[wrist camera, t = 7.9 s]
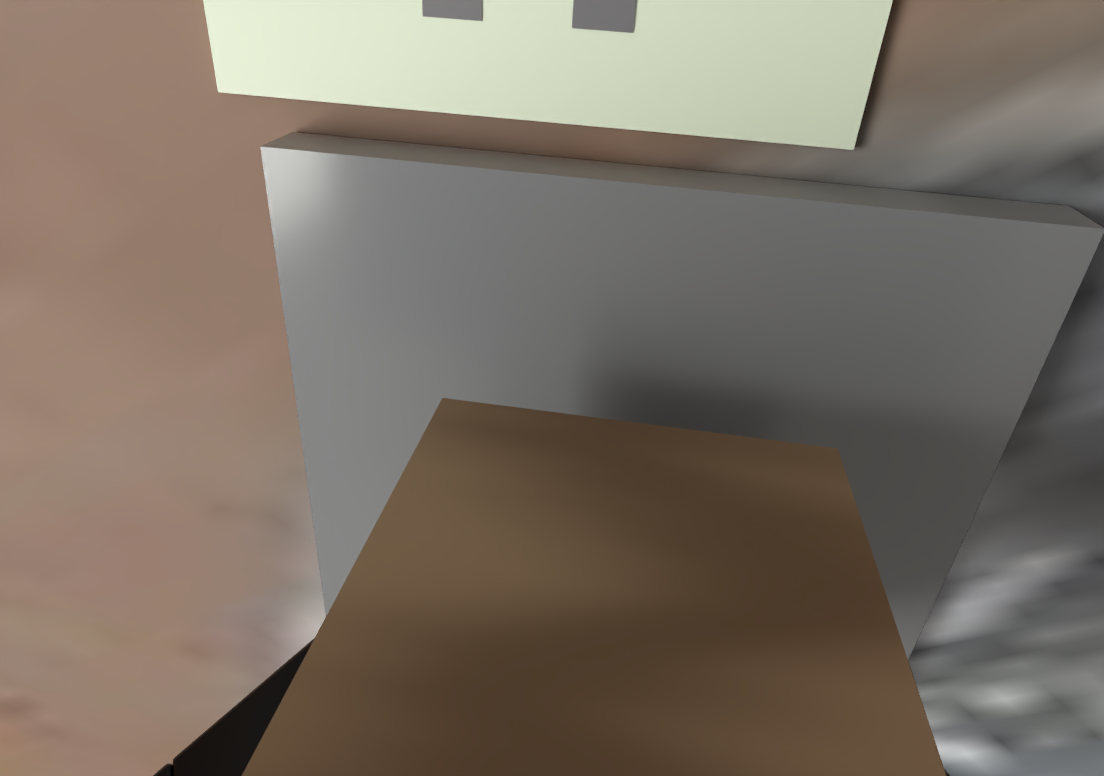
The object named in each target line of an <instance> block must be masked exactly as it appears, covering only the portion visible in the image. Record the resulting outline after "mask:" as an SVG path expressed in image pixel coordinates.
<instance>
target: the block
mask: <svg viewBox="0 0 1104 776" xmlns="http://www.w3.org/2000/svg"><path fill="white" fill-rule="evenodd" d="M242 776H946V774H945V771H944V768H943V764H942V761H941V758H940V755H939V752H938V749H937V746H936V743H935V740H934V737H933V734H932V731H931V728H930V725H929V722H928V719H927V716H926V713H925V710H924V707H923V704H922V701H921V698H920V695H919V692H918V689H917V686H916V683H915V680H914V677H913V674H912V671H911V668H910V665H909V662H908V659H907V656H906V653H905V650H904V647H903V644H902V641H901V638H900V635H899V632H898V629H897V626H896V623H895V620H894V617H893V614H892V611H891V608H890V605H889V602H888V599H887V596H886V593H885V589H884V586H883V583H882V580H881V577H880V574H879V571H878V568H877V565H876V562H875V559H874V556H873V553H872V550H871V547H870V544H869V541H868V538H867V535H866V532H865V529H864V526H863V523H862V520H861V517H860V514H859V511H858V508H857V505H856V502H855V499H854V496H853V493H852V490H851V487H850V484H849V481H848V478H847V475H846V472H845V469H844V466H843V463H842V460H841V457H840V454H839V451H838V448H830V447H822V446H815V445H807V444H799V443H791V442H783V441H776V440H768V439H760V438H752V437H744V436H737V435H729V434H721V433H713V432H705V431H698V430H690V429H682V428H674V427H666V426H659V425H651V424H643V423H635V422H628V421H620V420H612V419H604V418H596V417H589V416H581V415H573V414H565V413H557V412H550V411H542V410H534V409H526V408H518V407H511V406H503V405H495V404H487V403H479V402H472V401H464V400H456V399H448V398H442V400H441V401H440V403H439V405H438V407H437V409H436V411H435V413H434V415H433V417H432V418H431V420H430V422H429V424H428V426H427V428H426V430H425V432H424V433H423V435H422V437H421V439H420V441H419V443H418V445H417V447H416V449H415V450H414V452H413V454H412V456H411V458H410V460H409V462H408V464H407V465H406V467H405V469H404V471H403V473H402V475H401V477H400V479H399V481H398V482H397V484H396V486H395V488H394V490H393V492H392V494H391V496H390V497H389V499H388V501H387V503H386V505H385V507H384V509H383V511H382V513H381V514H380V516H379V518H378V520H377V522H376V524H375V526H374V528H373V530H372V531H371V533H370V535H369V537H368V539H367V541H366V543H365V545H364V546H363V548H362V550H361V552H360V554H359V556H358V558H357V560H356V562H355V563H354V565H353V567H352V569H351V571H350V573H349V575H348V577H347V578H346V580H345V582H344V584H343V586H342V588H341V590H340V592H339V594H338V595H337V597H336V599H335V601H334V603H333V605H332V607H331V609H330V610H329V612H328V614H327V616H326V618H325V620H324V622H323V624H322V626H321V627H320V629H319V631H318V633H317V635H316V637H315V639H314V641H313V642H312V644H311V646H310V648H309V650H308V652H307V654H306V656H305V658H304V659H303V661H302V663H301V665H300V667H299V669H298V671H297V673H296V674H295V676H294V678H293V680H292V682H291V684H290V686H289V688H288V690H287V691H286V693H285V695H284V697H283V699H282V701H281V703H280V705H279V707H278V708H277V710H276V712H275V714H274V716H273V718H272V720H271V722H270V723H269V725H268V727H267V729H266V731H265V733H264V735H263V737H262V739H261V740H260V742H259V744H258V746H257V748H256V750H255V752H254V754H253V755H252V757H251V759H250V761H249V763H248V765H247V767H246V769H245V771H244V772H243V774H242Z"/></svg>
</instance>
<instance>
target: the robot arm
mask: <svg viewBox="0 0 1104 776" xmlns="http://www.w3.org/2000/svg"><path fill="white" fill-rule="evenodd" d="M314 639H315V638H314ZM314 639H313V640H312V641H311V642H310V643H308V644H307V645H306V646H305V647H304V648H302V649H301V650H300V651H299V652H298V653H297V654H295V655H294V656H293V657H292V658H291V659H290V660H288V661H287V662H286V663H285V664H284V665H283V666H281V667H280V668H279V669H278V670H277V671H276V672H274V673H273V674H272V675H271V676H270V677H268V678H267V679H266V680H265V681H264V682H263V683H261V684H260V685H259V686H258V687H257V688H256V689H254V690H253V691H252V692H251V693H250V694H249V695H247V696H246V697H245V698H244V699H243V700H242V701H240V702H239V703H238V704H237V705H236V706H234V707H233V708H232V709H231V710H230V711H229V712H227V713H226V714H225V715H224V716H223V717H222V718H220V719H219V720H218V721H217V722H216V723H215V724H213V725H212V726H211V727H210V728H209V729H208V730H206V731H205V732H204V733H203V734H202V735H201V736H199V737H198V738H197V739H196V740H195V741H193V742H192V743H191V744H190V745H189V746H188V747H186V748H185V749H184V750H183V751H182V752H181V753H179V754H178V755H177V756H176V757H175V758H174V759H173V765H172V764H166V765H165V766H164V767H163V768H161V769H160V770H159V771H158V772H157V773H156V774H154V775H153V776H242V774H243V772H244V771H245V769H246V767H247V765H248V763H249V761H250V759H251V757H252V755H253V754H254V752H255V750H256V748H257V746H258V744H259V742H260V740H261V739H262V737H263V735H264V733H265V731H266V729H267V727H268V725H269V723H270V722H271V720H272V718H273V716H274V714H275V712H276V710H277V708H278V707H279V705H280V703H281V701H282V699H283V697H284V695H285V693H286V691H287V690H288V688H289V686H290V684H291V682H292V680H293V678H294V676H295V674H296V673H297V671H298V669H299V667H300V665H301V663H302V661H303V659H304V658H305V656H306V654H307V652H308V650H309V648H310V646H311V644H312V642H313V641H314ZM944 771H945V774H946V776H950V775H949V774H948V773H947V771H946V770H945V769H944Z"/></svg>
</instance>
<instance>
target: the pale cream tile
mask: <svg viewBox="0 0 1104 776" xmlns="http://www.w3.org/2000/svg"><path fill="white" fill-rule="evenodd" d="M203 2H204V8H205V14H206V20H207V26H208V32H209V39H210V45H211V51H212V57H213V63H214V69H215V76H216V82H217V88H218V92H222V93H233V94H244V95H255V96H266V97H277V98H288V99H299V100H310V101H321V102H332V103H343V104H354V105H365V106H376V107H387V108H398V109H409V110H420V111H431V112H442V113H453V114H464V115H475V116H486V117H497V118H508V119H519V120H530V121H541V122H552V123H563V124H574V125H585V126H596V127H607V128H618V129H629V130H640V131H651V132H662V133H673V134H684V135H695V136H706V137H717V138H728V139H739V140H750V141H761V142H772V143H783V144H794V145H805V146H816V147H827V148H838V149H849V150H854V147H855V143H856V139H857V135H858V131H859V128H860V124H861V120H862V116H863V112H864V109H865V105H866V101H867V97H868V93H869V89H870V86H871V82H872V78H873V74H874V70H875V67H876V63H877V59H878V55H879V51H880V48H881V44H882V40H883V36H884V32H885V29H886V25H887V21H888V17H889V13H890V10H891V6H892V2H893V0H203Z"/></svg>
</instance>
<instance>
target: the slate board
mask: <svg viewBox="0 0 1104 776" xmlns="http://www.w3.org/2000/svg"><path fill="white" fill-rule="evenodd" d="M261 154H262V161H263V168H264V176H265V183H266V190H267V197H268V204H269V211H270V219H271V226H272V233H273V240H274V247H275V254H276V262H277V269H278V276H279V283H280V290H281V297H282V304H283V312H284V319H285V326H286V333H287V340H288V347H289V355H290V362H291V369H292V376H293V383H294V390H295V398H296V405H297V412H298V419H299V426H300V433H301V441H302V448H303V455H304V462H305V469H306V476H307V484H308V491H309V498H310V505H311V512H312V519H313V527H314V534H315V541H316V548H317V555H318V562H319V569H320V577H321V584H322V591H323V598H324V605H325V612H326V616H327V614H328V612H329V610H330V609H331V607H332V605H333V603H334V601H335V599H336V597H337V595H338V594H339V592H340V590H341V588H342V586H343V584H344V582H345V580H346V578H347V577H348V575H349V573H350V571H351V569H352V567H353V565H354V563H355V562H356V560H357V558H358V556H359V554H360V552H361V550H362V548H363V546H364V545H365V543H366V541H367V539H368V537H369V535H370V533H371V531H372V530H373V528H374V526H375V524H376V522H377V520H378V518H379V516H380V514H381V513H382V511H383V509H384V507H385V505H386V503H387V501H388V499H389V497H390V496H391V494H392V492H393V490H394V488H395V486H396V484H397V482H398V481H399V479H400V477H401V475H402V473H403V471H404V469H405V467H406V465H407V464H408V462H409V460H410V458H411V456H412V454H413V452H414V450H415V449H416V447H417V445H418V443H419V441H420V439H421V437H422V435H423V433H424V432H425V430H426V428H427V426H428V424H429V422H430V420H431V418H432V417H433V415H434V413H435V411H436V409H437V407H438V405H439V403H440V401H441V400H442V398H448V399H456V400H464V401H472V402H479V403H487V404H495V405H503V406H511V407H518V408H526V409H534V410H542V411H550V412H557V413H565V414H573V415H581V416H589V417H596V418H604V419H612V420H620V421H628V422H635V423H643V424H651V425H659V426H666V427H674V428H682V429H690V430H698V431H705V432H713V433H721V434H729V435H737V436H744V437H752V438H760V439H768V440H776V441H783V442H791V443H799V444H807V445H815V446H822V447H830V448H838V451H839V454H840V457H841V460H842V463H843V466H844V469H845V472H846V475H847V478H848V481H849V484H850V487H851V490H852V493H853V496H854V499H855V502H856V505H857V508H858V511H859V514H860V517H861V520H862V523H863V526H864V529H865V532H866V535H867V538H868V541H869V544H870V547H871V550H872V553H873V556H874V559H875V562H876V565H877V568H878V571H879V574H880V577H881V580H882V583H883V586H884V589H885V593H886V596H887V599H888V602H889V605H890V608H891V611H892V614H893V617H894V620H895V623H896V626H897V629H898V632H899V635H900V638H901V641H902V644H903V647H904V650H905V653H906V656H907V659H909V657H910V655H911V653H912V651H913V648H914V646H915V644H916V642H917V640H918V638H919V635H920V633H921V631H922V629H923V627H924V624H925V622H926V620H927V618H928V616H929V614H930V611H931V609H932V607H933V605H934V603H935V600H936V598H937V596H938V594H939V592H940V590H941V587H942V585H943V583H944V581H945V579H946V576H947V574H948V572H949V570H950V568H951V566H952V563H953V561H954V559H955V557H956V555H957V552H958V550H959V548H960V546H961V544H962V542H963V539H964V537H965V535H966V533H967V531H968V528H969V526H970V524H971V522H972V520H973V518H974V515H975V513H976V511H977V509H978V507H979V504H980V502H981V500H982V498H983V496H984V494H985V491H986V489H987V487H988V485H989V483H990V480H991V478H992V476H993V474H994V472H995V470H996V467H997V465H998V463H999V461H1000V459H1001V456H1002V454H1003V452H1004V450H1005V448H1006V446H1007V443H1008V441H1009V439H1010V437H1011V435H1012V432H1013V430H1014V428H1015V426H1016V424H1017V422H1018V419H1019V417H1020V415H1021V413H1022V411H1023V408H1024V406H1025V404H1026V402H1027V400H1028V397H1029V395H1030V393H1031V391H1032V389H1033V387H1034V384H1035V382H1036V380H1037V378H1038V376H1039V373H1040V371H1041V369H1042V367H1043V365H1044V363H1045V360H1046V358H1047V356H1048V354H1049V352H1050V349H1051V347H1052V345H1053V343H1054V341H1055V339H1056V336H1057V334H1058V332H1059V330H1060V328H1061V325H1062V323H1063V321H1064V319H1065V317H1066V315H1067V312H1068V310H1069V308H1070V306H1071V304H1072V301H1073V299H1074V297H1075V295H1076V293H1077V291H1078V288H1079V286H1080V284H1081V282H1082V280H1083V277H1084V275H1085V273H1086V271H1087V269H1088V267H1089V264H1090V262H1091V260H1092V258H1093V256H1094V253H1095V251H1096V249H1097V247H1098V245H1099V243H1100V240H1101V238H1102V236H1103V234H1104V228H1103V227H1102V226H1100V225H1098V224H1097V223H1095V222H1094V221H1092V220H1090V219H1089V218H1087V217H1086V216H1084V215H1082V214H1081V213H1079V212H1078V211H1076V210H1074V209H1073V208H1071V207H1070V206H1064V205H1054V204H1043V203H1033V202H1022V201H1012V200H1001V199H991V198H981V197H970V196H960V195H949V194H939V193H928V192H918V191H907V190H897V189H886V188H876V187H865V186H855V185H844V184H834V183H823V182H813V181H802V180H792V179H781V178H771V177H760V176H750V175H739V174H729V173H718V172H708V171H697V170H687V169H676V168H666V167H655V166H645V165H634V164H624V163H613V162H603V161H592V160H582V159H571V158H561V157H550V156H540V155H529V154H519V153H508V152H498V151H487V150H477V149H466V148H456V147H445V146H435V145H424V144H414V143H403V142H393V141H382V140H372V139H361V138H351V137H340V136H330V135H319V134H309V133H298V132H292V133H289V134H287V135H285V136H283V137H281V138H278V139H276V140H274V141H272V142H269V143H267V144H265V145H263V146H261Z"/></svg>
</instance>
